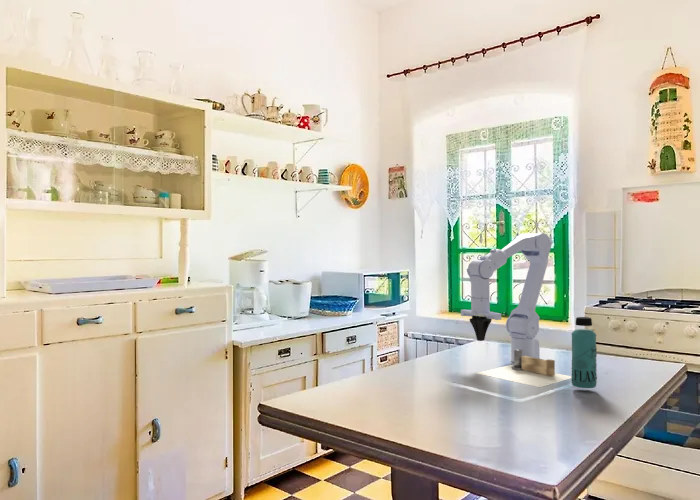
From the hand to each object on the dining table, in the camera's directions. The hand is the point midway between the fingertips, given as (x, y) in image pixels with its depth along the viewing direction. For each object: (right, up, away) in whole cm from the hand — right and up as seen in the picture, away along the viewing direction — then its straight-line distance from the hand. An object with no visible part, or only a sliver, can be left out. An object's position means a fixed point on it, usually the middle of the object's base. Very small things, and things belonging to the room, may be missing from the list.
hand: (480, 340), depth 175 cm
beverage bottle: (+22, -10, -26) cm, 35 cm away
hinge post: (+11, -9, -3) cm, 15 cm away
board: (+11, -9, -11) cm, 18 cm away
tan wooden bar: (+15, -8, -9) cm, 19 cm away
